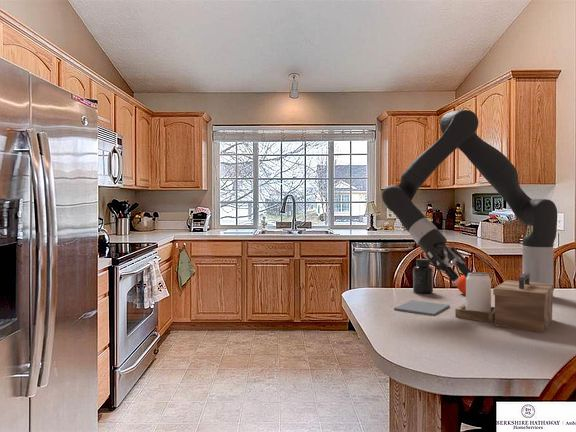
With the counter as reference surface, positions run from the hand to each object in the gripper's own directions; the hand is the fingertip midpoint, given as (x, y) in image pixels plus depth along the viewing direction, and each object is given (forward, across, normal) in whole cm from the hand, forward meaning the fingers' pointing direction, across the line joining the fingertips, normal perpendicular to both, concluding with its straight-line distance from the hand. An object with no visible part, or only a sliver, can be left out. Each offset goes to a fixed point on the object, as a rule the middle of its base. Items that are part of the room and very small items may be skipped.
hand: (463, 277), depth 126 cm
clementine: (-1, +28, +16) cm, 33 cm away
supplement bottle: (-10, +20, +25) cm, 34 cm away
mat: (-1, -3, +15) cm, 16 cm away
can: (+10, 0, +4) cm, 11 cm away
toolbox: (+15, +1, 0) cm, 15 cm away
